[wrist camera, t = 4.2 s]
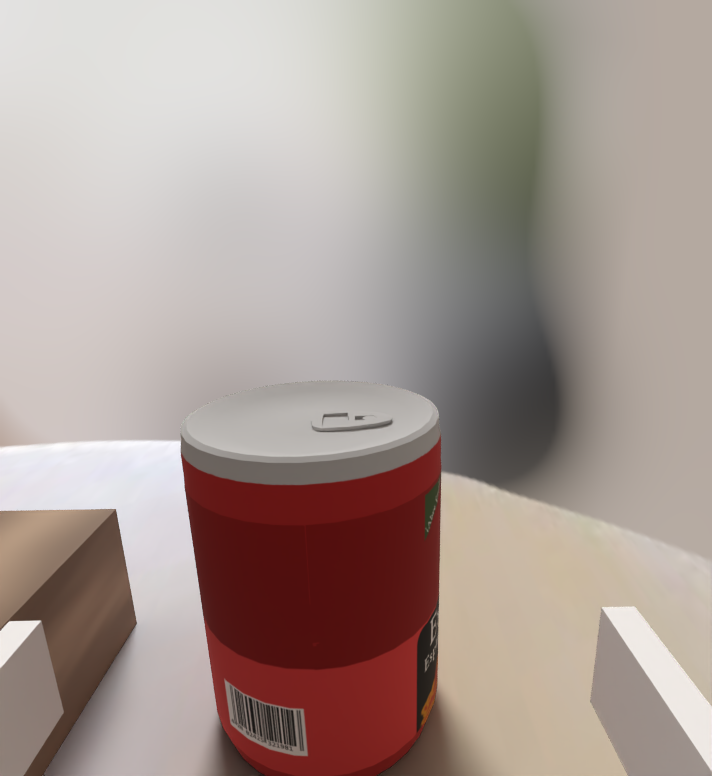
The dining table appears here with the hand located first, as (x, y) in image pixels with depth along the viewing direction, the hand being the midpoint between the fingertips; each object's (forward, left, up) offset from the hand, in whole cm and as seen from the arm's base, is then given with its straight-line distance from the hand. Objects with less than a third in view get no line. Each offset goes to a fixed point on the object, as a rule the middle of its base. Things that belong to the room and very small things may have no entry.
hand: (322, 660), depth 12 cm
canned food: (0, +5, -7) cm, 8 cm away
